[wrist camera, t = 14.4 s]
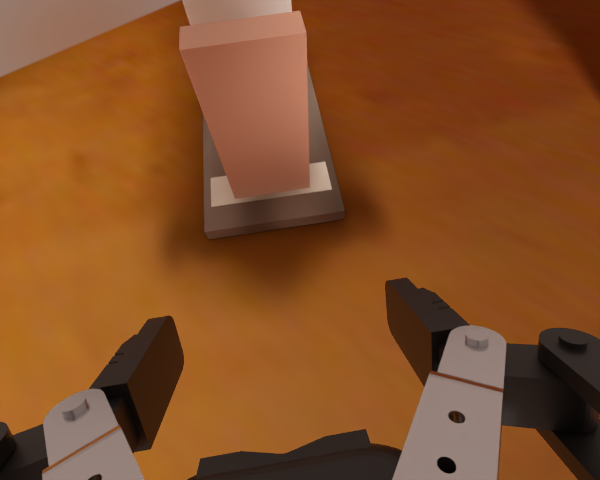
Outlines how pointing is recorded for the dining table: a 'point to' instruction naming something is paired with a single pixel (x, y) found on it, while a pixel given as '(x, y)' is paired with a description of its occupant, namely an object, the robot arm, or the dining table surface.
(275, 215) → the domino board
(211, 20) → the domino
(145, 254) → the dining table surface
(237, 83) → the domino
